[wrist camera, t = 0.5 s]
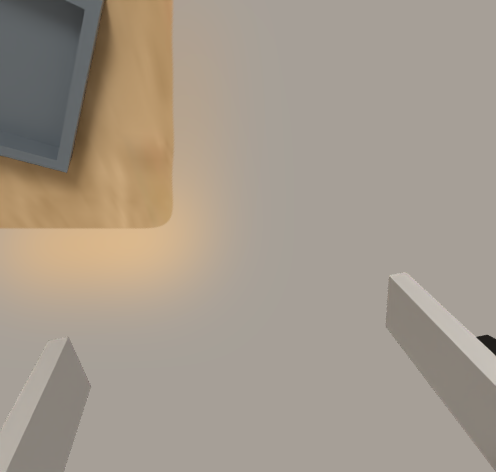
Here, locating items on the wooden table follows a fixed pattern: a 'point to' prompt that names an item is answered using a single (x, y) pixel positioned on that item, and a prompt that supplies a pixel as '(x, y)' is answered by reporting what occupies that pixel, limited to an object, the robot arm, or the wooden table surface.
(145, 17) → the wooden table surface
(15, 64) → the tray
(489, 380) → the robot arm
